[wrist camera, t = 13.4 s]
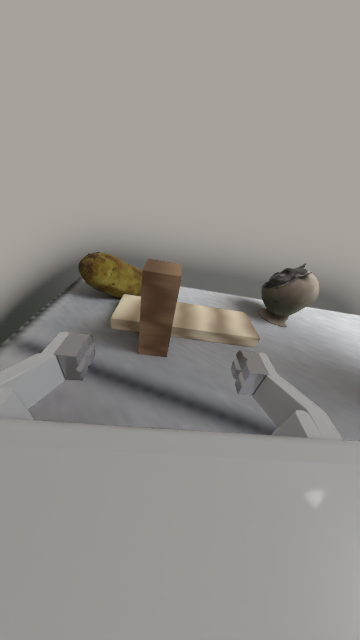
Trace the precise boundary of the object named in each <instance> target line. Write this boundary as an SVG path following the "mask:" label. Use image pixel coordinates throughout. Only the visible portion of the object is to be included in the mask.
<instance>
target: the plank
mask: <svg viewBox="0 0 360 640" xmlns="http://www.w3.org/2000/svg"><path fill="white" fill-rule="evenodd" d="M140 306H141V297H140V296H134V295H127V294H124V295H123V297H122V298H121V300H120V302H119V304H118V306H117V307H116V309H115V311H114V313H113V314H112V316H111V318H110V320H111V329H118V330H126V331H134V332H139V325H140ZM171 336H172V337H180V338H187V339H195V340H203V341H210V342H218V343H226V344H233V345H241V346H249V347H255V346H256V345H257V343H258V341H259V339H260V338H259V336H258V334H257V332H256V331H255V329H254V327H253V325H252V324H251V322H250V320H249V318H248V317H247V315H246V313H245V312H240V311H233V310H226V309H220V308H213V307H206V306H200V305H193V304H187V303H180V302H177V304H176V309H175V315H174V320H173V325H172V331H171Z"/></svg>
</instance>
